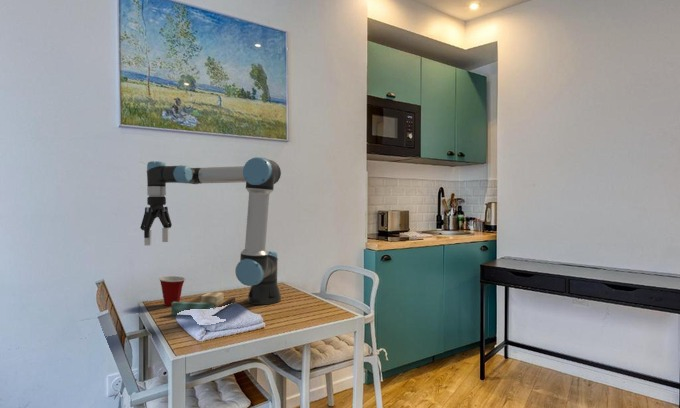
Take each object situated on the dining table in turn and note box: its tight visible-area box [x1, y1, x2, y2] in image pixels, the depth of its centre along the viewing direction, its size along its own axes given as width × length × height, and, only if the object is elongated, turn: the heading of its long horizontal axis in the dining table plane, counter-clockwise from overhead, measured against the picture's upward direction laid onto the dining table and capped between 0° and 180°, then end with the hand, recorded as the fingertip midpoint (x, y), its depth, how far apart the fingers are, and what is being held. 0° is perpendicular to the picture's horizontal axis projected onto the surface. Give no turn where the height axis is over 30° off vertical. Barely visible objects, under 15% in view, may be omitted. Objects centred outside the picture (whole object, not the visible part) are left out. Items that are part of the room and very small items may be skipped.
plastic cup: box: [158, 275, 186, 307], centre depth 176 cm, size 11×11×12 cm
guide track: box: [171, 295, 236, 316], centre depth 170 cm, size 17×24×5 cm
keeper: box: [201, 291, 225, 307], centre depth 177 cm, size 7×7×4 cm
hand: (157, 243), depth 177 cm, fingers open, 13 cm apart
